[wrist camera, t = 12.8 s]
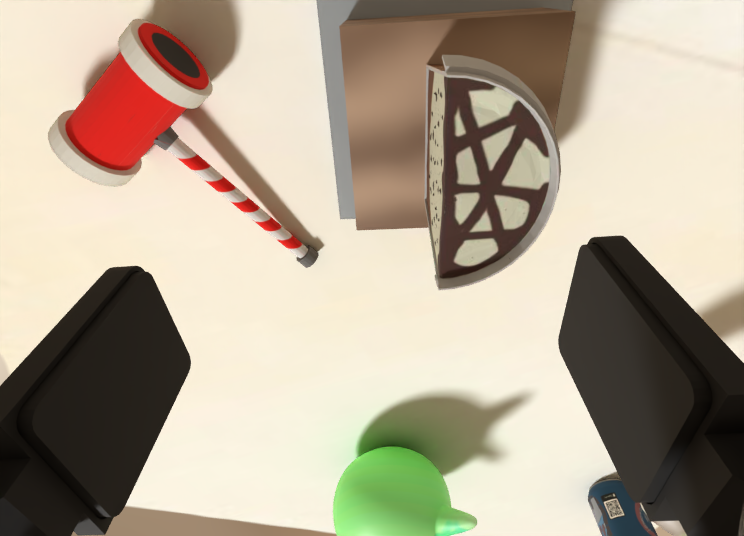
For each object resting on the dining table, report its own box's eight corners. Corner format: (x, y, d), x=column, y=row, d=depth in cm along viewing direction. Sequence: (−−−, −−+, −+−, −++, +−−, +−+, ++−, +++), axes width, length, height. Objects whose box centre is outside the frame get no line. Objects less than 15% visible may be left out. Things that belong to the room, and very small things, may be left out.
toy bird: (341, 418, 57) (330, 535, 45) (463, 429, 58) (485, 546, 46) (334, 489, 67) (323, 600, 55) (438, 497, 68) (450, 609, 56)
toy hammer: (357, 222, 41) (353, 257, 36) (275, 284, 46) (261, 323, 40) (158, 13, 32) (113, 18, 26) (78, 116, 36) (26, 138, 31)
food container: (504, 215, 32) (547, 294, 24) (424, 218, 33) (438, 297, 24) (529, 31, 25) (600, 52, 17) (426, 37, 26) (447, 61, 17)
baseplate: (317, -12, 30) (315, -12, 29) (572, -29, 29) (578, -30, 29) (341, 214, 40) (340, 219, 39) (532, 206, 39) (535, 211, 39)
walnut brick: (346, 20, 30) (339, 26, 26) (543, 7, 30) (575, 11, 25) (360, 198, 38) (356, 230, 33) (516, 191, 38) (537, 223, 33)
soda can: (637, 491, 66) (683, 581, 56) (593, 504, 68) (629, 593, 58) (623, 471, 63) (669, 562, 53) (578, 484, 65) (613, 574, 55)
